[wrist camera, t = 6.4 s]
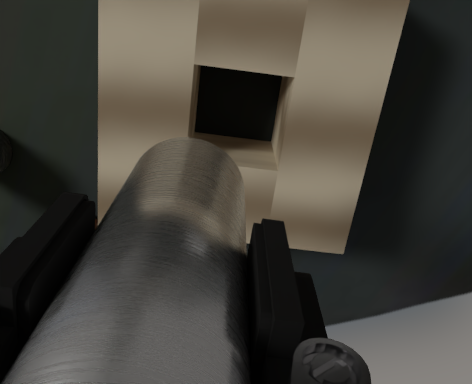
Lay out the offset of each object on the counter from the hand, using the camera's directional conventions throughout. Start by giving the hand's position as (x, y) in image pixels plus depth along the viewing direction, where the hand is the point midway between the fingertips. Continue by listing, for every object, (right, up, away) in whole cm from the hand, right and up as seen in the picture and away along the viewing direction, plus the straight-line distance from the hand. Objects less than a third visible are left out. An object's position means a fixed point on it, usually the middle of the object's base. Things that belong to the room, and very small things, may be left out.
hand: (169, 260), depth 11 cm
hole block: (+2, +8, +20) cm, 21 cm away
